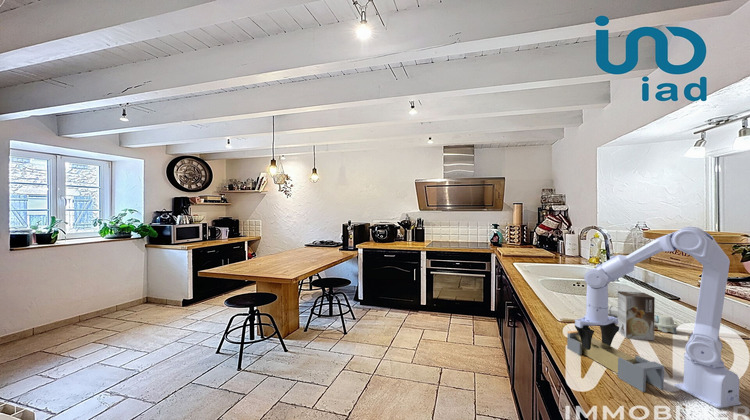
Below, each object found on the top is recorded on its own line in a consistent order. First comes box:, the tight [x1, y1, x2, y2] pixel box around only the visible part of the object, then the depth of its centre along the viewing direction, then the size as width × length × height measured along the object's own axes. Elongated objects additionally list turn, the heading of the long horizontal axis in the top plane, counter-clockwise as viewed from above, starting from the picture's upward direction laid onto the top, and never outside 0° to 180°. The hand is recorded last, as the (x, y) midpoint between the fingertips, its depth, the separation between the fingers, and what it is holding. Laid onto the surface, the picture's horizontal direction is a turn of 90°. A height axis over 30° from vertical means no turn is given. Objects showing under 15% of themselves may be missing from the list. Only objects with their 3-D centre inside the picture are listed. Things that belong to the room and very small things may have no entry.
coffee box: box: [617, 290, 656, 341], centre depth 116 cm, size 9×6×16 cm
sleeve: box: [617, 355, 665, 393], centre depth 86 cm, size 7×7×6 cm
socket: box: [566, 330, 583, 356], centre depth 105 cm, size 5×7×6 cm
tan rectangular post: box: [576, 335, 636, 374], centre depth 97 cm, size 17×4×5 cm, turn 11°
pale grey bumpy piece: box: [608, 305, 678, 334], centre depth 129 cm, size 5×7×25 cm
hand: (596, 347), depth 100 cm, fingers open, 7 cm apart
